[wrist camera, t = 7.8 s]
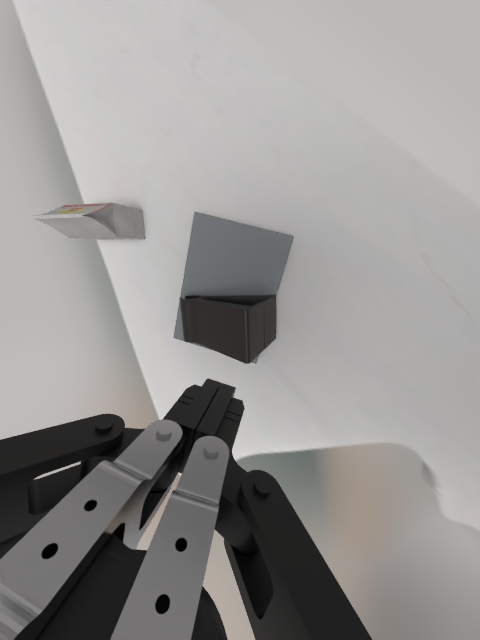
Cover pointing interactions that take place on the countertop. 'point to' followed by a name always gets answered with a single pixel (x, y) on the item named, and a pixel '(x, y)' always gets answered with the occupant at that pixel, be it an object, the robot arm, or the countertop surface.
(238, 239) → the mat
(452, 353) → the countertop surface
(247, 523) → the robot arm
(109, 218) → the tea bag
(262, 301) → the phone stand
